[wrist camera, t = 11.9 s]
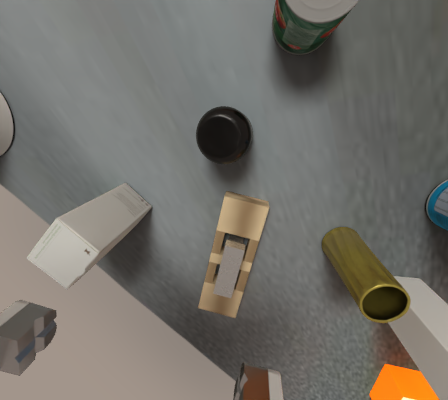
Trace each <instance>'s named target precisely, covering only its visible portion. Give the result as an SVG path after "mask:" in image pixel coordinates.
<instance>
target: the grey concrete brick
mask: <svg viewBox="0 0 448 400" xmlns="http://www.w3.org/2000/svg"><path fill="white" fill-rule="evenodd" d="M243 239H244V237H241V236H237V235H233V234H230V235H229V239H228V240H226V244H225V248H224V252H223V256H222V260H221V264H220V268H219V272H218V276H217V280H216V284H215V288H214V292H213V294H217V295H220V296H224V297H228V298H231V297H232V293H233V290H234V286H235V283H236V280H237V276H238V273H239V269H240V266H241V262H242V259H243V255H244V252H245V244H243Z"/></svg>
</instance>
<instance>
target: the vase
mask: <svg viewBox="0 0 448 400" xmlns="http://www.w3.org/2000/svg"><path fill="white" fill-rule="evenodd" d="M322 249H323V251H324V253H325V254H326V255H327V256H328V258H329V260H330V262H331V263H332V265H333V266H334V268H335V269H336V271H337V273H338V274H339V276H340V278H341V279H342V281H343V282H344V284H345V286H346V287H347V289H348V291H349V292H350V294H351V295H352V297H353V298H354V300H355V302H356V303H357V305H358V307H359V309H360V311H361V312H362V314H363V315H364V316H365V317H366V318H367V319H369V320H371V321H374V322H379V323H388V322H392V321H395V320H397V319H399V318H401V317H402V316H403V315H404V314H406V313H407V311H408V310H409V307H410V302H411V300H410V296H409V294H408V293H407V291H406V290H405V289H404V288H403V287H402V285H401V284H400V283H399V282H398V281H397V280H396V279H395V278H394V277H393V275H392V274H391V273H390V272H389V271H388V270H387V269H386V268H385V267H384V266H383V264H382V263H381V262H380V261H379V260H378V259H377V257H376V256H375V255H374V254H373V252H372V251H371V250H370V249H369V248H368V246H367V245H366V244H365V243H364V241H363V240H362V239H361V238H360V236H359V235H358V233H357V232H356V231H354V230H353V229H351V228H347V227H338V228H335V229H333V230H331V231H329V232H328V233H327V234H326V235H325V236H324V238H323V241H322Z"/></svg>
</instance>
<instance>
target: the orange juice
mask: <svg viewBox="0 0 448 400" xmlns="http://www.w3.org/2000/svg"><path fill="white" fill-rule="evenodd" d="M370 397H371V399H372V400H439V398H438V397H437V395H436V394H435V392H434V391H433V389H432V388H431V386H430V385H429V383H428V382H427V380H426V379H425V377H424V376H423V374H422V373H421V372H420V371H415V370H411V369H406V368H402V367H397V366H393V365H388V364H385V365H384V367H383V369H382V371H381V373H380V375H379V377H378V378H377V380H376V382H375V384H374V386H373V388H372V390H371V392H370Z"/></svg>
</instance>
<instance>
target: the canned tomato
mask: <svg viewBox="0 0 448 400" xmlns="http://www.w3.org/2000/svg"><path fill="white" fill-rule="evenodd" d="M358 2H359V0H276V2H275V8H274V14H273V19H272V29H273V34H274V37H275V39H276V41H277V43H278V44H279V46H280V47H281V48H282V49H283V50H285V51H286V52H288V53H290V54H294V55H304V54H308V53H310V52H313V51H314V50H316V49H318V48H319V47H320V46H321V45H322V44H323V43H324V42H325V41H326V39H327V38H328V37H329V36H330V34H331V33H332V32H333V31H334V30H335V29H336V27H337V26H338V25H339V24H340V23H341V21H342V20H343V19H344V18H345V17H346V16H347V14H348V13H349V12H350V11H351V9H352V8H353V7H355V6H356V4H357V3H358Z"/></svg>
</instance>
